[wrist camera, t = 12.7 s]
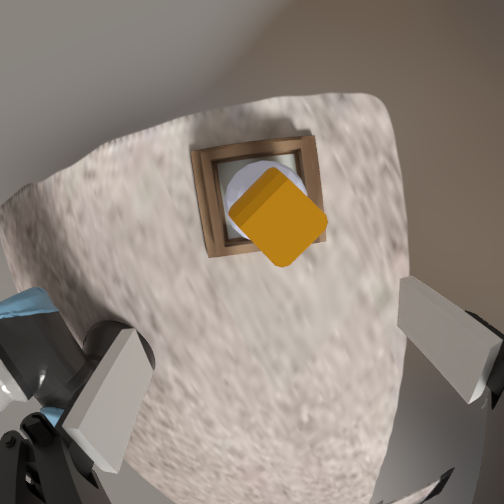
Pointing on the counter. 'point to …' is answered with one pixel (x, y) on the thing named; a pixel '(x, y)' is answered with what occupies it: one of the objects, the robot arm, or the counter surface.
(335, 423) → the counter surface
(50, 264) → the counter surface
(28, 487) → the robot arm
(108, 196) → the counter surface
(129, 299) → the counter surface
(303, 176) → the picture frame
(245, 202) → the orange capped white bottle
